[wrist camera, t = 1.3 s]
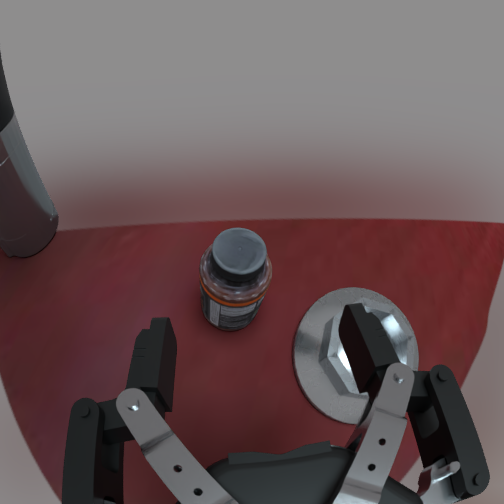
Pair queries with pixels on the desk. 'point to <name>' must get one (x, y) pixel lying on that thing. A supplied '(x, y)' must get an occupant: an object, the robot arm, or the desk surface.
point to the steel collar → (332, 353)
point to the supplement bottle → (234, 278)
